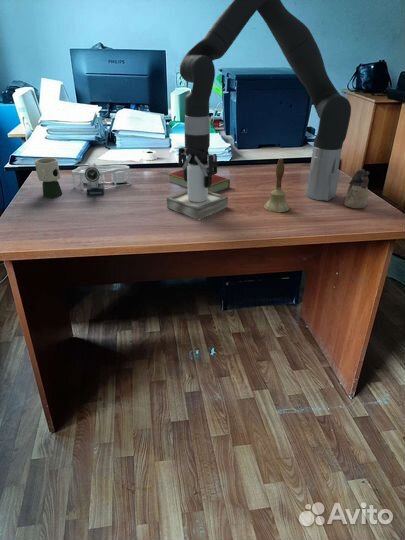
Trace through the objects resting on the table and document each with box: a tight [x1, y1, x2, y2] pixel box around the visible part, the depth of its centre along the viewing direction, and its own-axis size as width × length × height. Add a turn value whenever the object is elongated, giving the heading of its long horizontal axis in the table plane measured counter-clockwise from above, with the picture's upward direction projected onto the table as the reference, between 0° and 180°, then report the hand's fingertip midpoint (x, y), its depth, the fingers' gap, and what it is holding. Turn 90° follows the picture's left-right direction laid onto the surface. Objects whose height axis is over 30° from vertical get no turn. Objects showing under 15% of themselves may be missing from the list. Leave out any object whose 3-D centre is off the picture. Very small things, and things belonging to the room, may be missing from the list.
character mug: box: [34, 157, 63, 199], centre depth 135 cm, size 11×7×13 cm, turn 4°
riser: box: [166, 189, 229, 220], centre depth 130 cm, size 14×14×4 cm
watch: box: [85, 163, 105, 196], centre depth 137 cm, size 6×8×11 cm
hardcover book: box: [166, 168, 231, 193], centre depth 149 cm, size 12×21×4 cm, turn 47°
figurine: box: [343, 168, 370, 209], centre depth 131 cm, size 7×7×12 cm
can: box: [186, 162, 208, 203], centre depth 126 cm, size 6×6×12 cm
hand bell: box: [263, 158, 290, 213], centre depth 127 cm, size 8×8×16 cm
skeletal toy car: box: [71, 164, 132, 191], centre depth 146 cm, size 20×11×7 cm, turn 94°
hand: (197, 184), depth 126 cm, fingers open, 8 cm apart
